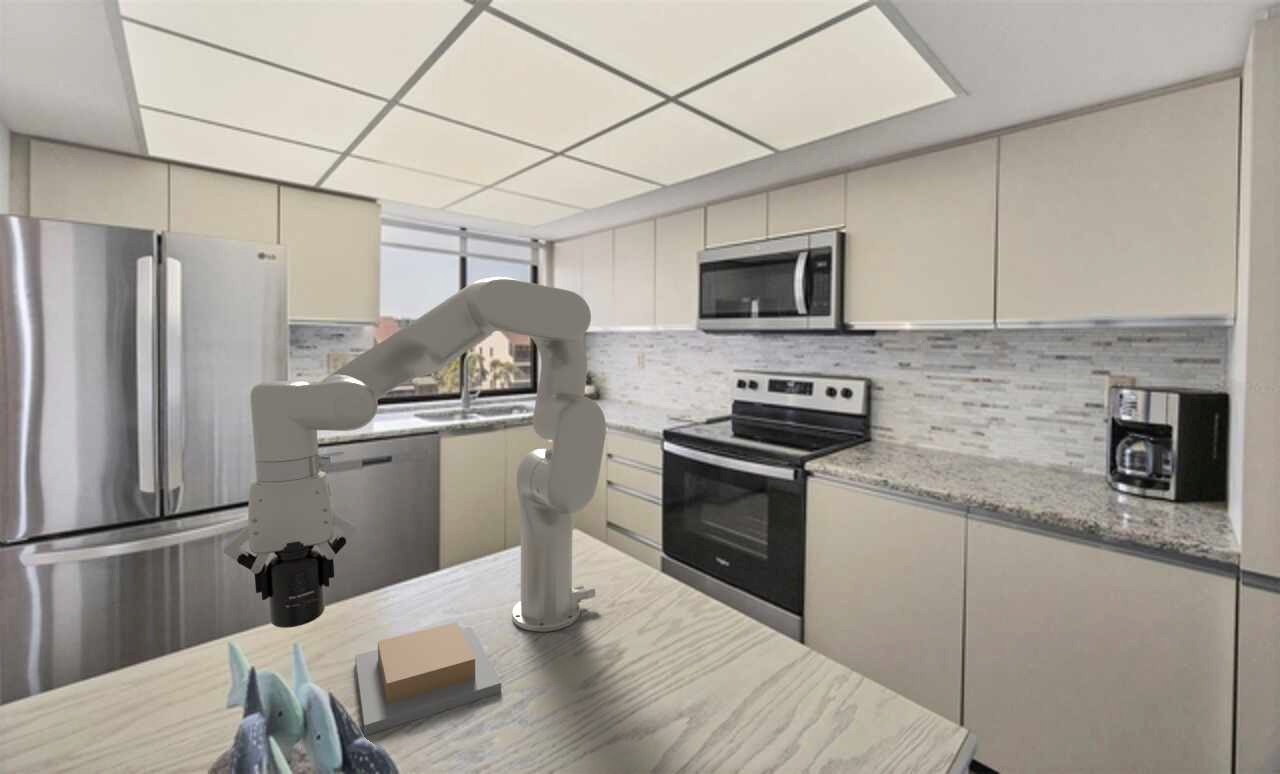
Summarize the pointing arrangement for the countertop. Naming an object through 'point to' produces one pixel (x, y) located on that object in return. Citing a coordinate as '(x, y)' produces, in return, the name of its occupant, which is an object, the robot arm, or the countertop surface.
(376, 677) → the pedestal
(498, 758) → the countertop surface
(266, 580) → the robot arm
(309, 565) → the supplement bottle
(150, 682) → the countertop surface
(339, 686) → the countertop surface
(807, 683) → the countertop surface
